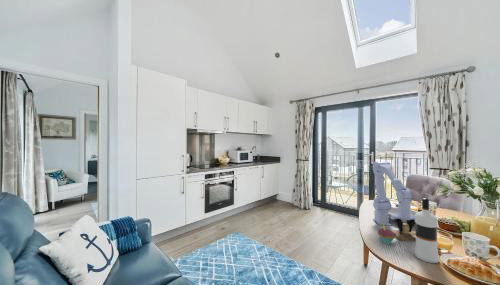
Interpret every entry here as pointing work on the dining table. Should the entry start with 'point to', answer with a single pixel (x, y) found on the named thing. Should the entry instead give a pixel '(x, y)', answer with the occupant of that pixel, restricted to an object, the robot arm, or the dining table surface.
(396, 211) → the soup bowl
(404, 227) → the peg
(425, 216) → the vodka
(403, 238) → the seat board
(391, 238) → the cupcake
